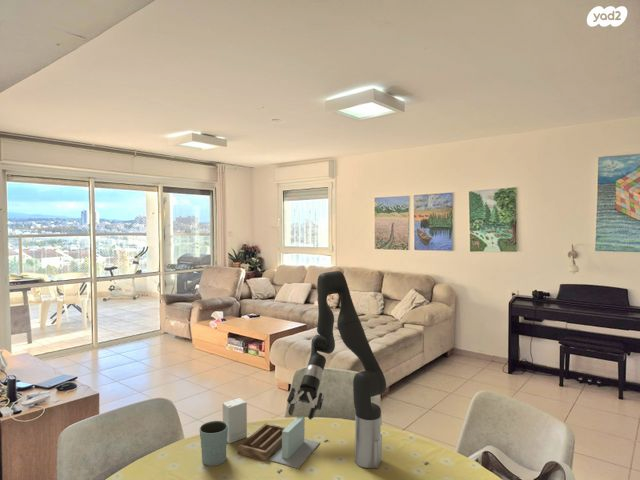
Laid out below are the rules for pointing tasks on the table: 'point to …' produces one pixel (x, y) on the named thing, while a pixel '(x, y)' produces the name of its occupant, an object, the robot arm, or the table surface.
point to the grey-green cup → (213, 442)
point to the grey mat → (296, 454)
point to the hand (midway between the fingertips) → (299, 416)
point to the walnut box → (262, 442)
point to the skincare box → (235, 419)
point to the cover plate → (293, 437)
